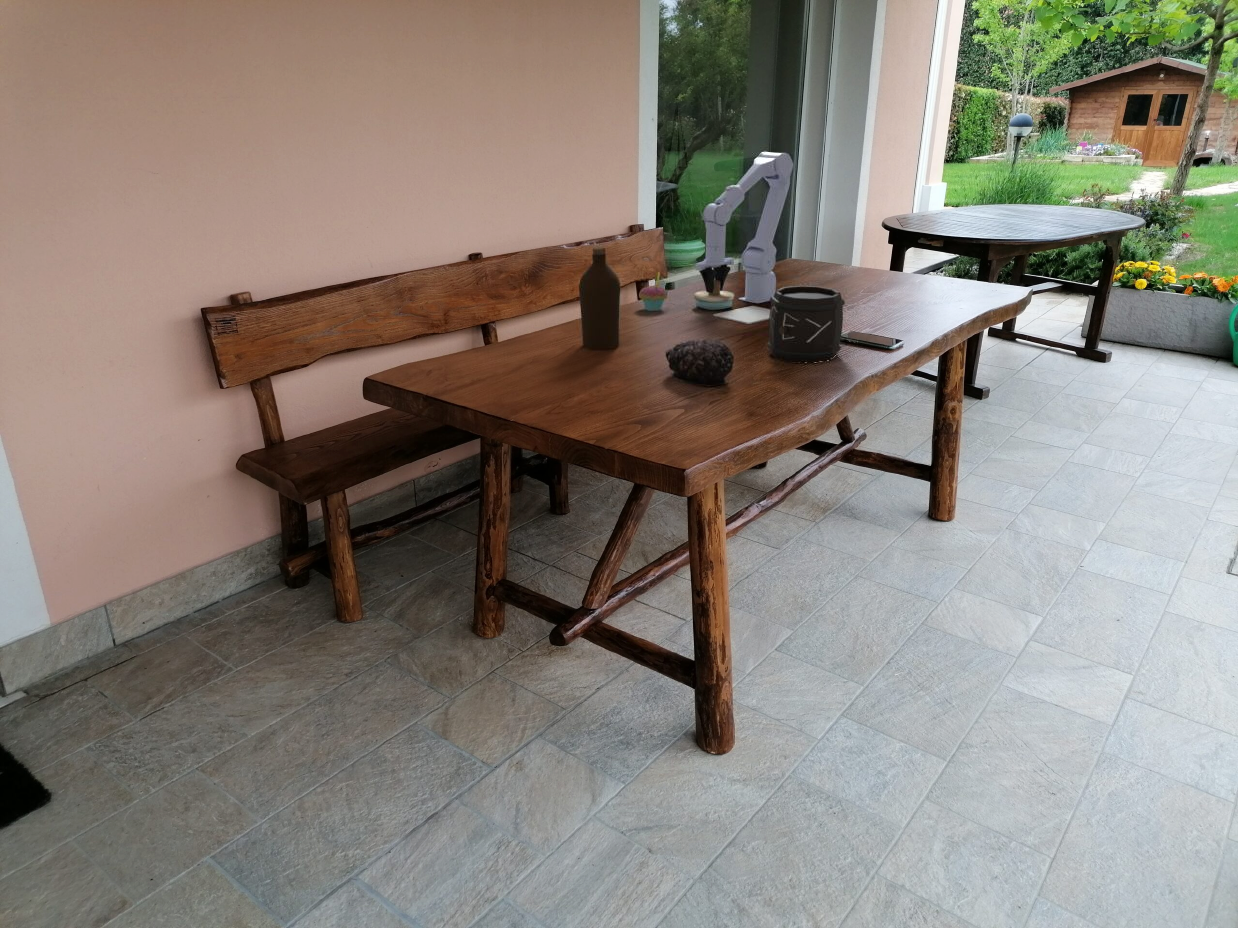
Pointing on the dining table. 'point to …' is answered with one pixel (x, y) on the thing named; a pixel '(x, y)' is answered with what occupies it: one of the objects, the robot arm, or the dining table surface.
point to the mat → (746, 314)
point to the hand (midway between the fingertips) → (714, 291)
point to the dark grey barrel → (805, 323)
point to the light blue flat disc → (713, 305)
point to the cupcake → (653, 296)
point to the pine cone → (701, 362)
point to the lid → (714, 294)
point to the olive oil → (600, 304)
